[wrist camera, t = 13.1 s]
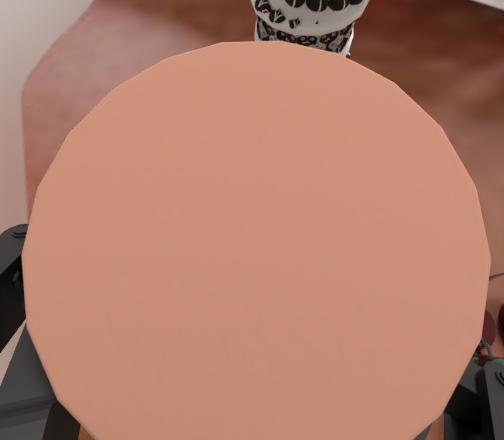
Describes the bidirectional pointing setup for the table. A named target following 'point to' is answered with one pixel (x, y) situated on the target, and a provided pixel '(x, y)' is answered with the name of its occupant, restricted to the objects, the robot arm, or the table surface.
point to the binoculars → (488, 337)
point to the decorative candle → (309, 22)
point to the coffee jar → (256, 254)
